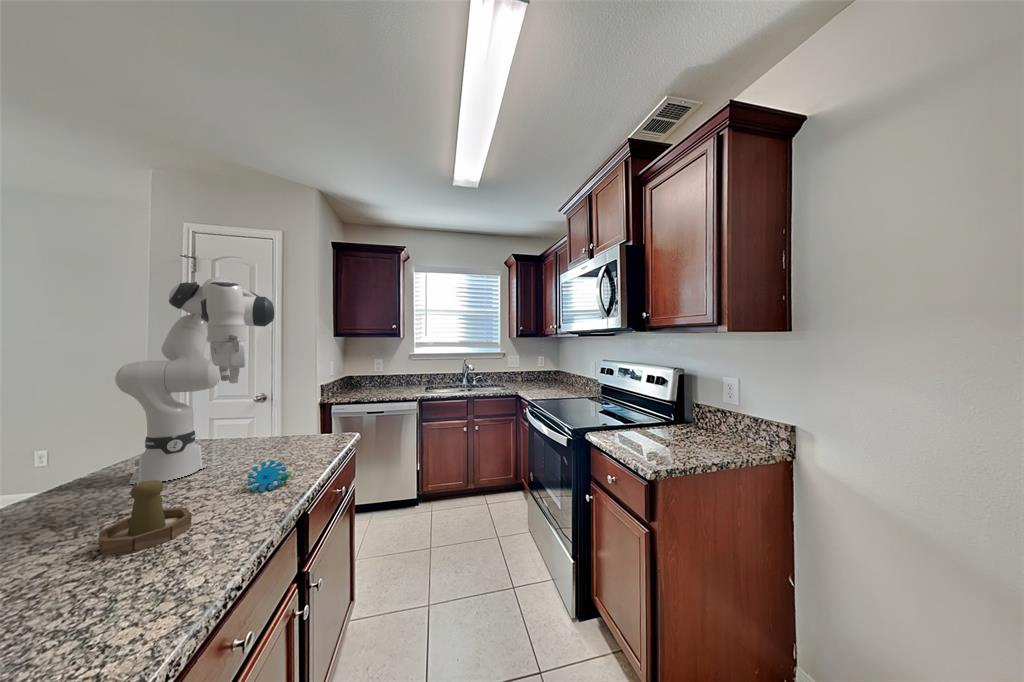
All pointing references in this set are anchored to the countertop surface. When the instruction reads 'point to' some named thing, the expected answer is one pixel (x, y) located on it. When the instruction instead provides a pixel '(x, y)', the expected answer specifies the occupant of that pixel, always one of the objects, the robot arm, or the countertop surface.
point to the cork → (146, 508)
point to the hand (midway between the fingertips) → (229, 381)
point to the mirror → (121, 543)
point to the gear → (268, 476)
